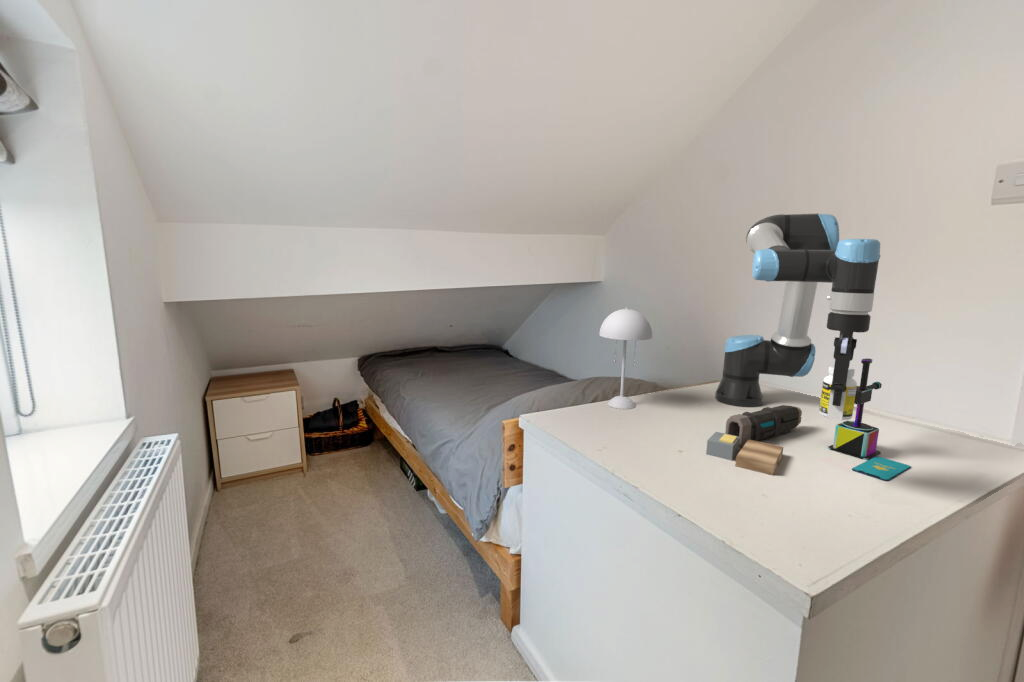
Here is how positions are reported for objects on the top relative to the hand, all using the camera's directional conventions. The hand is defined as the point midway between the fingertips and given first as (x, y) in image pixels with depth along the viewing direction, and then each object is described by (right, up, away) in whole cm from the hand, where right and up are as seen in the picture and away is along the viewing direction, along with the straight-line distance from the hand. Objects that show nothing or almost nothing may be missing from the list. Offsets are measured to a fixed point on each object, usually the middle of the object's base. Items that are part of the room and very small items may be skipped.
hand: (835, 415), depth 106 cm
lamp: (-35, -5, +55) cm, 66 cm away
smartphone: (+16, -14, +8) cm, 23 cm away
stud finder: (-18, -12, +16) cm, 27 cm away
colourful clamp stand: (+21, -12, +21) cm, 32 cm away
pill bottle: (0, 0, 0) cm, 1 cm away
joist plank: (-12, -13, +11) cm, 20 cm away
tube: (-1, -11, +28) cm, 30 cm away
